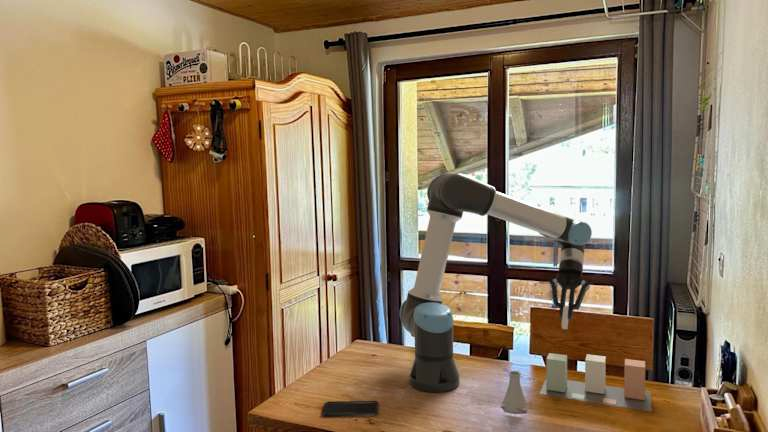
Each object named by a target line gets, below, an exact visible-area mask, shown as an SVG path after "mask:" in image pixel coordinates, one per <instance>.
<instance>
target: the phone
mask: <svg viewBox="0 0 768 432" xmlns="http://www.w3.org/2000/svg"><path fill="white" fill-rule="evenodd" d="M322 407H323V408H322V410H321V416H322V417H323V418H348V417H349V418H351V417H352V418H353V417H354V418H356V417H358V418H359V417H360V418H361V417H364V416H365V417H368V418H369V416H371V417H376V415H377V416H378V414H379V402H378V401H377V400H354V401H351V400H348V401H347V400H346V401H342V400H341V401H339V400H338V401H326V402H324V403H323V406H322Z"/></svg>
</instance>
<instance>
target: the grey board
mask: <svg viewBox="0 0 768 432" xmlns="http://www.w3.org/2000/svg"><path fill="white" fill-rule="evenodd" d="M539 395H543V396H549V397H557V398H561V399H562V398H563V399H569V400H575V401H581V402H587V403H594V404H600V405H606V406H613V407H619V408H625V409H631V410H637V411H644V412H652V394H651V391H646V390H645V400H640V399H634V398H627V397H624V387H618V386H611V385H605V393H604V394H601V393H594V392H587V391H585V381H584V382H583V381H576V380H569V379H567V388H566V391H565V392H559V391H552V390H546V378H545V379H544V381H543V384H542V387H541V388H540V391H539Z"/></svg>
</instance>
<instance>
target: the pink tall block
mask: <svg viewBox="0 0 768 432" xmlns="http://www.w3.org/2000/svg"><path fill="white" fill-rule="evenodd" d="M623 376H624V380H623V381H624V385H623V386H624V387H623V388H624V397H627V398H634V399H640V400H645V391H646V361H645V360H638V359H636V360H635V359H629V358H624V375H623Z"/></svg>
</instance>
